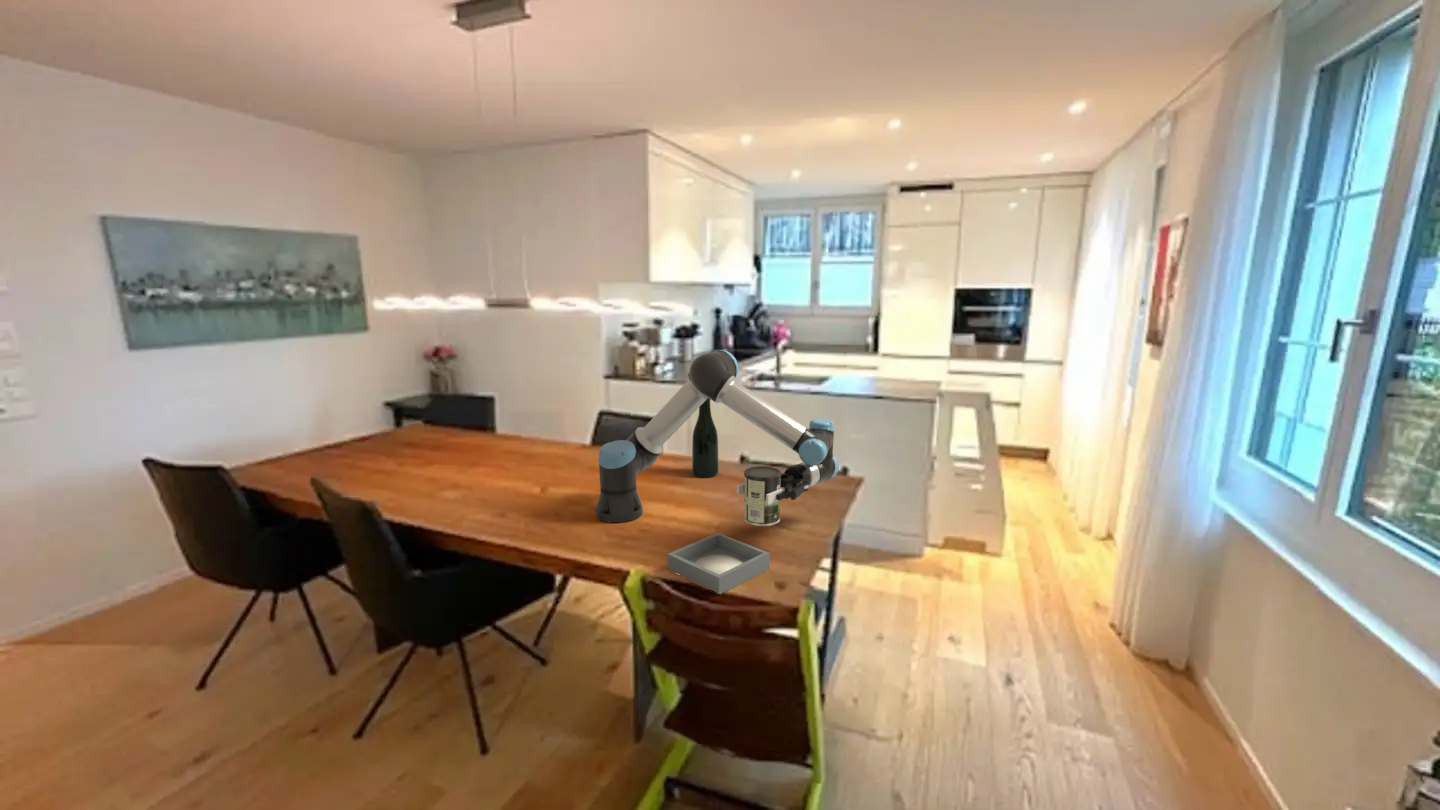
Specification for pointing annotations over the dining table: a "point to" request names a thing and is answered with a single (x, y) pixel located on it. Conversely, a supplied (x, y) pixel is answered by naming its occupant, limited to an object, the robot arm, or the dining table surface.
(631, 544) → the dining table surface
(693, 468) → the beer bottle
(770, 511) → the coffee can
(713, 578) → the walled box
